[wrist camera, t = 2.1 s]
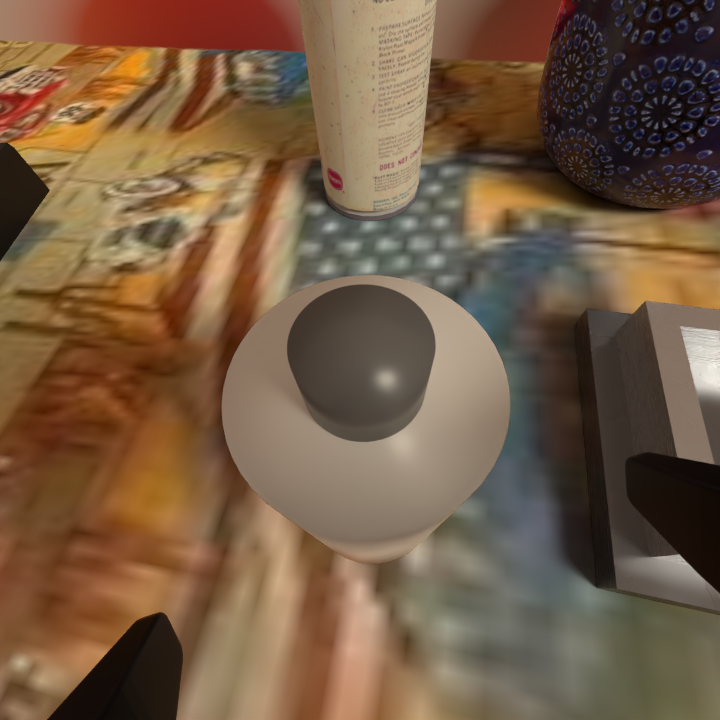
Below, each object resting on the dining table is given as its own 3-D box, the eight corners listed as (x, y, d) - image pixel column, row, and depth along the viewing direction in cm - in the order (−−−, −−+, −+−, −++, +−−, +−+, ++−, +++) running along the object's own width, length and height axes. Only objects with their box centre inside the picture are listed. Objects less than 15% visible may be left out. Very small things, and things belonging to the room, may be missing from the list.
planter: (495, 109, 33) (568, -194, 20) (690, 96, 33) (894, -220, 20) (549, 248, 25) (735, -118, 12) (813, 232, 24) (1301, -162, 11)
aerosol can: (371, 150, 31) (360, -404, 13) (437, 187, 28) (529, -443, 11) (306, 191, 29) (193, -409, 11) (371, 235, 26) (354, -459, 9)
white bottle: (402, 593, 16) (459, 620, 5) (281, 518, 17) (111, 408, 6) (457, 462, 18) (578, 282, 7) (347, 408, 20) (308, 193, 9)
